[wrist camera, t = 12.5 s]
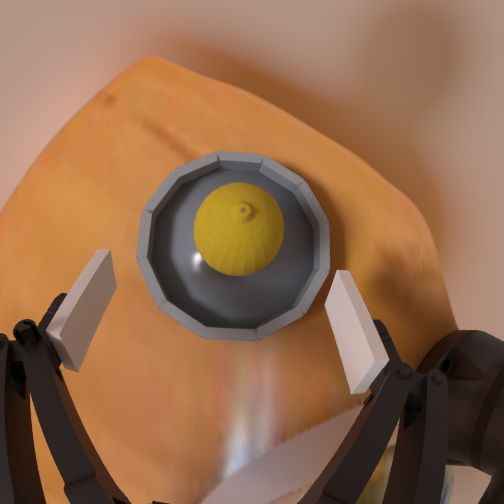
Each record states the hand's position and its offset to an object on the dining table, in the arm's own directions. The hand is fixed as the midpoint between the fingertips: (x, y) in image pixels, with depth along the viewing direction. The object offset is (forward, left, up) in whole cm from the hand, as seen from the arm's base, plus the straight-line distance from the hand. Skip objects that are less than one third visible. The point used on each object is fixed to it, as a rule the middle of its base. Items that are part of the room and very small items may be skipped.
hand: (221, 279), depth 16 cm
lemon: (-1, -3, -5) cm, 6 cm away
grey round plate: (-1, -3, -6) cm, 7 cm away
